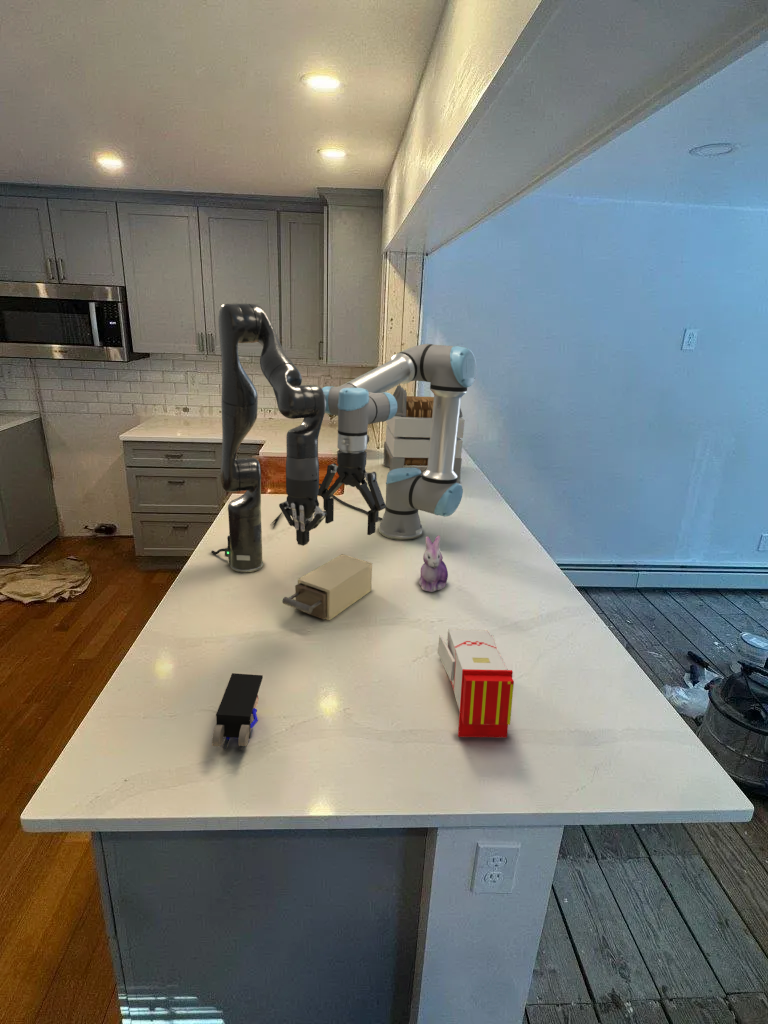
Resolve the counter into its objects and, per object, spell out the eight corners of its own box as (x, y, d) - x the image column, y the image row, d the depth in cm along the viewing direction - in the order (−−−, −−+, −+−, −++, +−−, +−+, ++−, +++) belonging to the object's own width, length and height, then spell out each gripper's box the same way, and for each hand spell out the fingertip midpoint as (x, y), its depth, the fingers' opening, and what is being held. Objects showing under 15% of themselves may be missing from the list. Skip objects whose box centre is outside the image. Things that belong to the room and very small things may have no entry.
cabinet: (329, 620, 143) (329, 590, 140) (297, 608, 148) (297, 579, 145) (371, 590, 159) (372, 563, 156) (341, 581, 164) (341, 553, 161)
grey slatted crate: (382, 463, 289) (386, 382, 275) (445, 464, 293) (451, 384, 279) (390, 482, 257) (394, 392, 243) (460, 483, 261) (468, 394, 247)
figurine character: (250, 764, 99) (265, 700, 113) (248, 732, 96) (263, 671, 109) (212, 763, 99) (231, 699, 112) (208, 732, 96) (228, 670, 109)
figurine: (428, 595, 157) (432, 546, 152) (409, 580, 166) (413, 532, 161) (456, 589, 161) (461, 541, 156) (437, 574, 170) (441, 528, 165)
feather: (289, 506, 225) (292, 502, 225) (272, 529, 199) (275, 525, 198) (286, 503, 225) (288, 500, 225) (268, 527, 199) (271, 522, 198)
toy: (488, 613, 130) (523, 677, 101) (484, 667, 133) (517, 744, 104) (435, 612, 130) (455, 676, 101) (432, 666, 133) (451, 743, 103)
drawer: (309, 628, 137) (309, 604, 135) (281, 617, 142) (280, 593, 139) (363, 591, 157) (364, 569, 154) (337, 582, 161) (337, 560, 159)
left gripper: (269, 472, 129) (271, 542, 135) (315, 483, 123) (315, 556, 129) (290, 465, 135) (291, 533, 141) (335, 475, 129) (334, 545, 135)
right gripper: (304, 444, 148) (304, 521, 155) (386, 461, 136) (382, 542, 143) (321, 440, 154) (321, 513, 161) (401, 455, 142) (397, 534, 149)
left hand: (302, 544), depth 135 cm, fingers closed
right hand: (349, 527), depth 152 cm, fingers open, 13 cm apart
